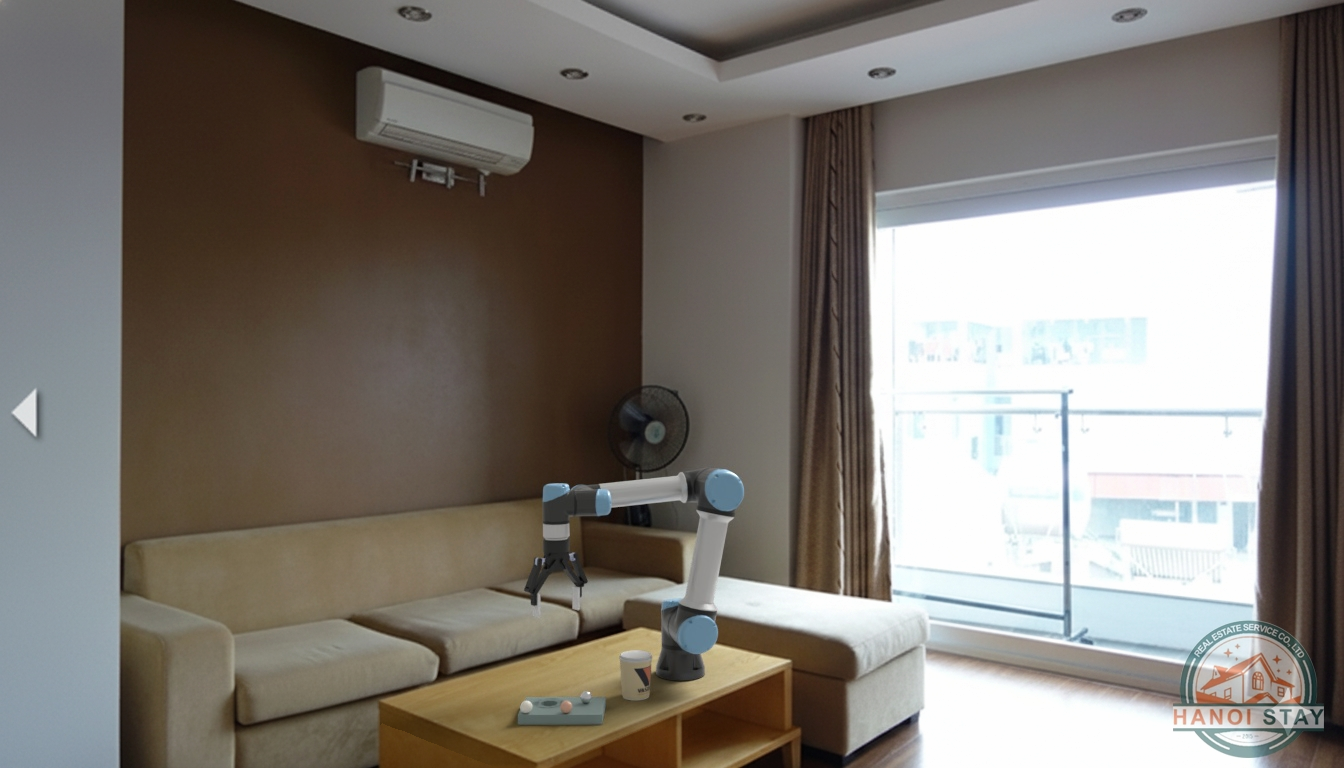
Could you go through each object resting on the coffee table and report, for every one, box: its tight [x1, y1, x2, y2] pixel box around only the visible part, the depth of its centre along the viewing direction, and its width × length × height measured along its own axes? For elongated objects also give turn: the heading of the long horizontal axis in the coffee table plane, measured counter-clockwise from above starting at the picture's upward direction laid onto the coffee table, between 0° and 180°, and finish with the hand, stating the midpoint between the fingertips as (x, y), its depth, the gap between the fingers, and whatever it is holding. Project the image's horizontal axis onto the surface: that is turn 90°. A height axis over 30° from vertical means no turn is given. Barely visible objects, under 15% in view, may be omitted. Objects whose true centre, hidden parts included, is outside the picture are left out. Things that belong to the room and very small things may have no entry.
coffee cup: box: [618, 649, 653, 701], centre depth 273 cm, size 9×9×12 cm
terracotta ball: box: [560, 700, 572, 713], centre depth 251 cm, size 3×3×3 cm
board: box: [517, 696, 607, 726], centre depth 257 cm, size 22×15×2 cm
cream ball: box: [519, 700, 532, 713], centre depth 251 cm, size 3×3×3 cm
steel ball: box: [579, 690, 593, 703], centre depth 259 cm, size 3×3×3 cm
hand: (556, 613), depth 271 cm, fingers open, 13 cm apart
